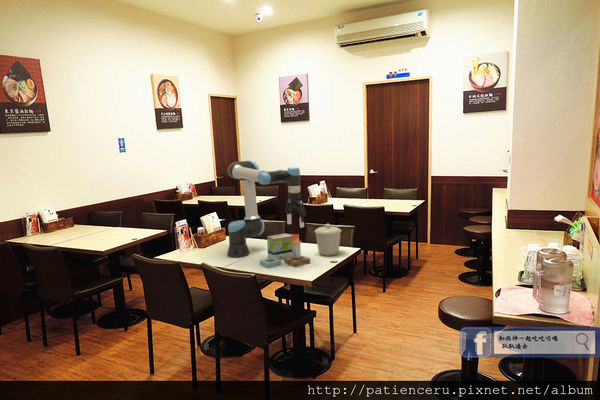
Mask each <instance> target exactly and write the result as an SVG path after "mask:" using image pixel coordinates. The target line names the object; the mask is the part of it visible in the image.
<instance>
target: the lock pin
mask: <svg viewBox="0 0 600 400" xmlns="http://www.w3.org/2000/svg"><path fill="white" fill-rule="evenodd" d="M291 243H292V246H293V259H294V260H299V259H301V256H302V253H301V244H302V240H298V239H296V240H293V241H291Z"/></svg>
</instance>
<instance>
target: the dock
mask: <svg viewBox="0 0 600 400" xmlns="http://www.w3.org/2000/svg"><path fill="white" fill-rule="evenodd" d="M283 262H284V264H286V265H290V266H291V267H293V268H297V267H301V266H305V265H308V264H311V258H310V257H306V256H304V255H301V259H299V260H294V259H293V256H292V257H287V258H283Z"/></svg>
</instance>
